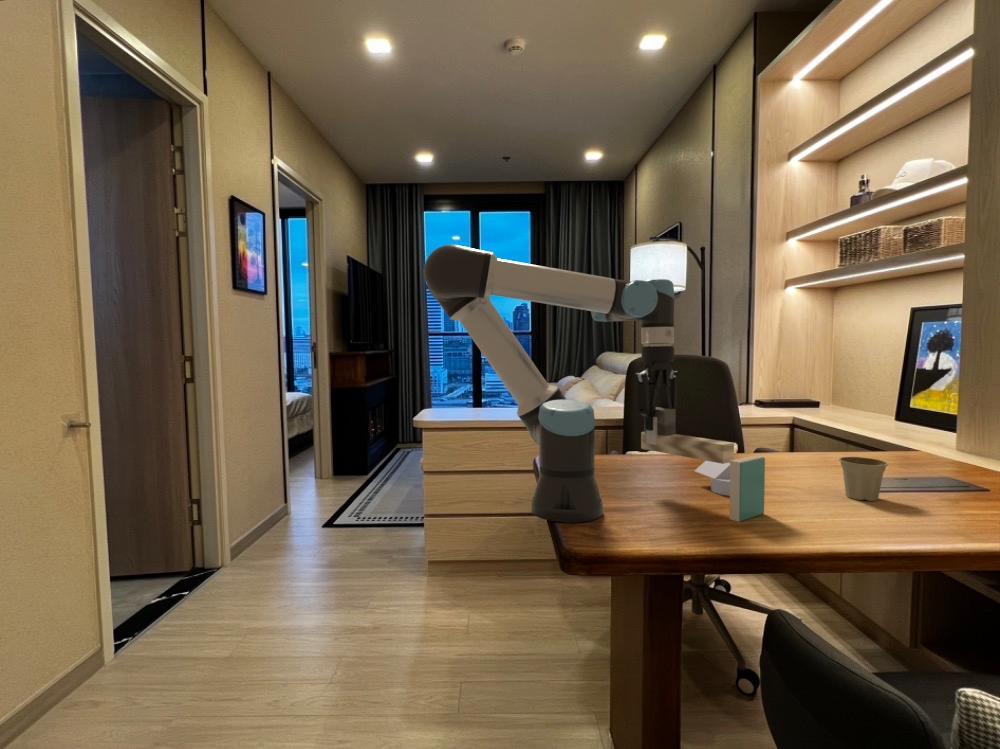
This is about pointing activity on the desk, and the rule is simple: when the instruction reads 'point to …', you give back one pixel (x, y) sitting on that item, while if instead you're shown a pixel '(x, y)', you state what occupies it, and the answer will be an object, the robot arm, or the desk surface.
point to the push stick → (685, 441)
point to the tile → (747, 487)
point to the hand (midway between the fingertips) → (658, 442)
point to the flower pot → (862, 477)
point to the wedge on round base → (717, 476)
